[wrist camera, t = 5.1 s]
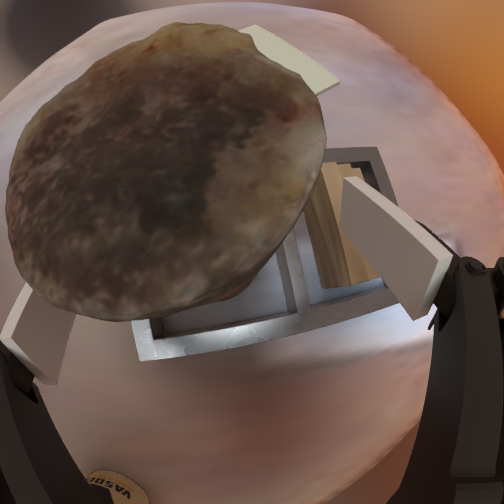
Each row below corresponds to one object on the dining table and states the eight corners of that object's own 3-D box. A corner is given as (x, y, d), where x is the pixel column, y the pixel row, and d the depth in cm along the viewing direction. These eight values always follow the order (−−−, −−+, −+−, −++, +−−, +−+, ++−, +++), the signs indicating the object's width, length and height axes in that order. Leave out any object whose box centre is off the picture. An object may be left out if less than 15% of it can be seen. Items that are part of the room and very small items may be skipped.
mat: (161, 69, 27) (160, 66, 26) (255, 27, 29) (255, 24, 29) (243, 140, 26) (243, 137, 25) (339, 83, 28) (340, 80, 28)
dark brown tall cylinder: (182, 312, 22) (-5, 352, 3) (162, 232, 23) (17, 70, 4) (267, 287, 23) (425, 233, 4) (243, 208, 24) (275, -10, 5)
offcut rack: (152, 352, 22) (139, 361, 18) (130, 198, 24) (116, 183, 20) (398, 296, 24) (419, 295, 21) (362, 162, 26) (376, 146, 23)
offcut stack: (321, 289, 24) (351, 285, 17) (299, 195, 25) (319, 163, 19) (362, 278, 24) (400, 271, 18) (339, 189, 26) (367, 159, 19)
